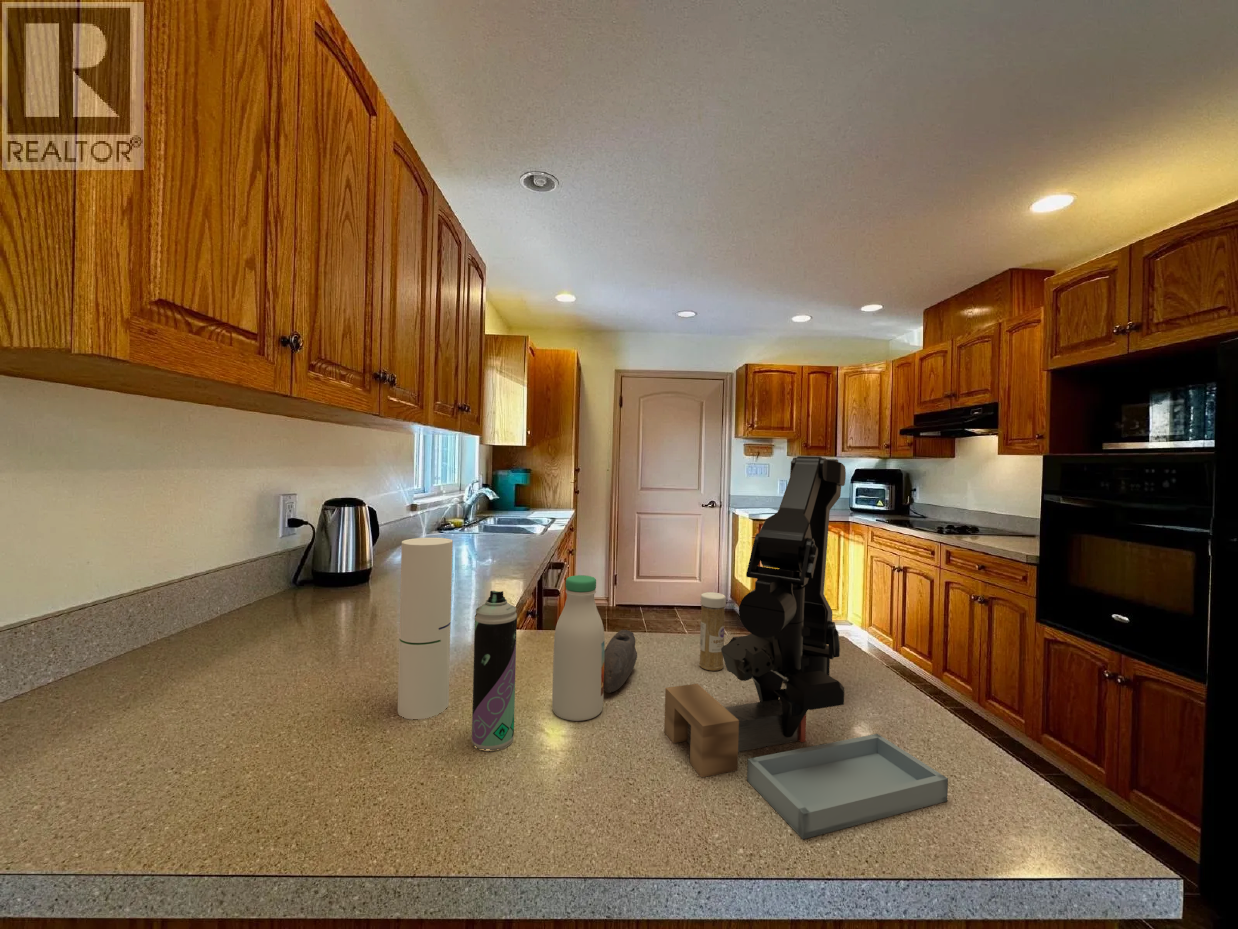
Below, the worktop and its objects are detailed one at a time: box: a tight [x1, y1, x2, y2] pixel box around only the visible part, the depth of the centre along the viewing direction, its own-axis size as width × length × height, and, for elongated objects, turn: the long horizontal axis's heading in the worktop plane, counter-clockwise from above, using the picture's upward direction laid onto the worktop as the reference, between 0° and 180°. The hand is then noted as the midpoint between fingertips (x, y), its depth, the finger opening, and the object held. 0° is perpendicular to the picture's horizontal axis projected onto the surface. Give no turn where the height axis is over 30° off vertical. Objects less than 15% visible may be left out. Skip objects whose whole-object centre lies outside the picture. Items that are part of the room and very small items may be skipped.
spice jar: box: [698, 591, 727, 672], centre depth 95 cm, size 5×5×13 cm
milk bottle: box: [551, 574, 606, 722], centre depth 78 cm, size 8×8×20 cm
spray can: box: [471, 590, 518, 750], centre depth 69 cm, size 6×6×20 cm
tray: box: [746, 733, 949, 840], centre depth 60 cm, size 20×10×3 cm, turn 109°
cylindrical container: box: [397, 537, 453, 720], centre depth 77 cm, size 7×7×25 cm
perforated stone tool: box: [604, 629, 638, 694], centre depth 88 cm, size 15×5×7 cm, turn 165°
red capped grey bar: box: [686, 698, 807, 753], centre depth 70 cm, size 16×5×5 cm, turn 109°
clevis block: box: [663, 683, 739, 778], centre depth 68 cm, size 5×11×6 cm, turn 19°
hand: (778, 728), depth 72 cm, fingers closed on red capped grey bar, 4 cm apart
